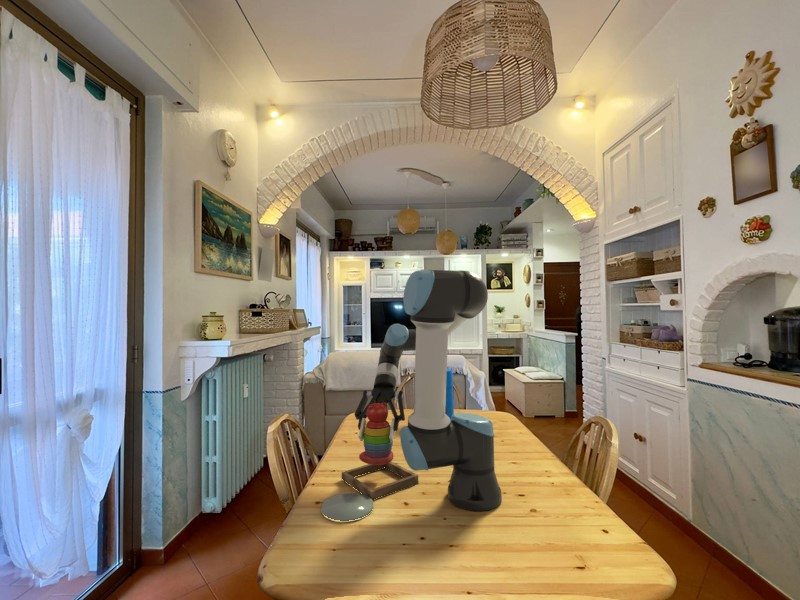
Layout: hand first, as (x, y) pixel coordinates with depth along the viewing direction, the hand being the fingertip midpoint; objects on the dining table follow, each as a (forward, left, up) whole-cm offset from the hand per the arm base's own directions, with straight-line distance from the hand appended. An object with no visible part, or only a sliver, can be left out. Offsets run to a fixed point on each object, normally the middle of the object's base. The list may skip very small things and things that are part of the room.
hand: (375, 439), depth 119 cm
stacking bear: (+2, -2, -8) cm, 8 cm away
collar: (+2, -2, -14) cm, 14 cm away
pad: (-6, +14, -14) cm, 21 cm away
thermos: (+36, -62, -14) cm, 73 cm away
